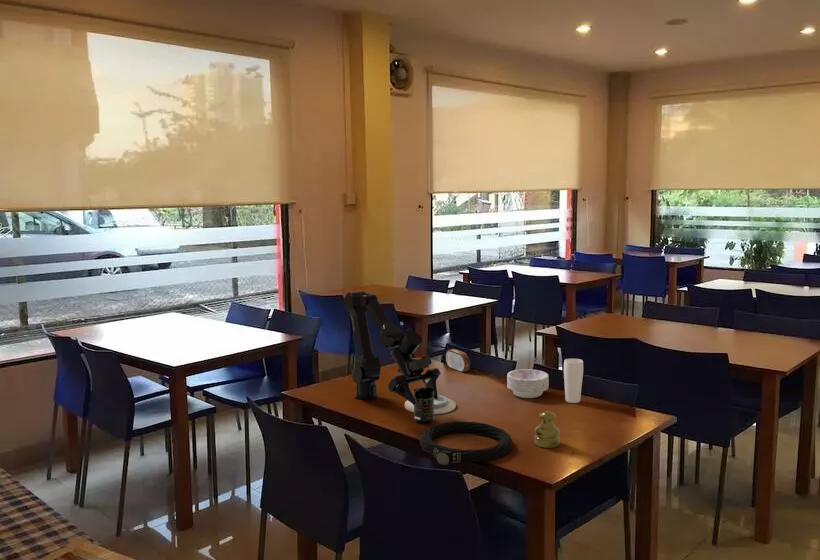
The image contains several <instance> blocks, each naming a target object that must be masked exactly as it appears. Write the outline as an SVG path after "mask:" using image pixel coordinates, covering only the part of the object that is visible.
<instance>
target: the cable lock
mask: <svg viewBox="0 0 820 560" xmlns="http://www.w3.org/2000/svg"><path fill="white" fill-rule="evenodd" d="M466 433H470V434H476V435H483V436H486V437H490V438H494V440H497V441H498V443H497V444H496V445H494V446H489V447H486V448H485V447H484V448H481V449H480V448H479V449H460V448H451V447H446V446H444V445H440V444H437V443H435V442H433V441H434V439H436V438H438V437H441V436H445V435H450V434H466ZM419 445H420V446H421V449H422V450H423V452H425V453H427V454H428V455H430V456H433V458H434V459H436V460H437V462H438V464H439V465H442V466H447V465H451V463H453V464H461V463H483V462H486V461H493V460H495V459H498V458H500V457H503V456H505V455H506V454H508V453H509V452H510V450H511V449H512V446H513V439H512V437H511V436H510V434H509V433H508V432H507V431H505V430H504V429H502V428H499V427H497V426H494V425H491V424H488V423H481V422H477V421H453V422H443V423H440V424H436V425H432V426H431V427H429V428H427V429H425V430H424V431H423V432H422V433H421V434H420V437H419Z"/></svg>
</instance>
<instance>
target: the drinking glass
mask: <svg viewBox="0 0 820 560" xmlns="http://www.w3.org/2000/svg"><path fill="white" fill-rule="evenodd" d="M563 361H564V362H563V379H564V381H563V383H564V396H565V397H564V400H565V402H567V403H569V404H579V403H580V402H581V397H582V396H581V393H582V387H583V386H582V385H583V378H584V361H583V359H580V358H565V359H564V360H563Z"/></svg>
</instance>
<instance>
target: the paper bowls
mask: <svg viewBox="0 0 820 560" xmlns="http://www.w3.org/2000/svg"><path fill="white" fill-rule="evenodd" d="M506 380H507V382H506V387H507V389H509V390H511V391H512V393H513V395H514V396H516V397H518V398H522V399H535V398H539V397H540V396H542V395H543V393H544V391H547V390H548V389H549V384H550V381H549V373H547V372H545V371H542V370H539V369H532V368H531V369H528V368H523V369H520V368H519V369H514V370H511V371H509V372H508V373H507V375H506Z"/></svg>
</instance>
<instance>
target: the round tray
mask: <svg viewBox="0 0 820 560" xmlns="http://www.w3.org/2000/svg"><path fill="white" fill-rule="evenodd" d="M437 395H438V398H437V399H435V398H434V415H442V414H447V413H451V412H452V411H454V410H455V409H456V405H457V403H456V401H455V400H453V399H451V398H448V397H447V396H444V395H441V394H437ZM404 408H405V410H407V411H408V412H410V413H413V414H414V405H413V404H412V403H411V402H409V401H408V400H407V399H406V401H405V402H404Z"/></svg>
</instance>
